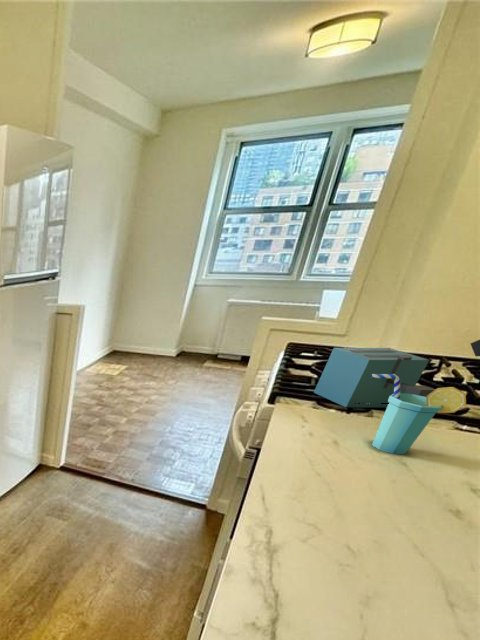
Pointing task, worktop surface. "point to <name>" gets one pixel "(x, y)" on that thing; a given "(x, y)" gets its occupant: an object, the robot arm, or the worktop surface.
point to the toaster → (366, 375)
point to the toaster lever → (414, 389)
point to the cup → (412, 415)
